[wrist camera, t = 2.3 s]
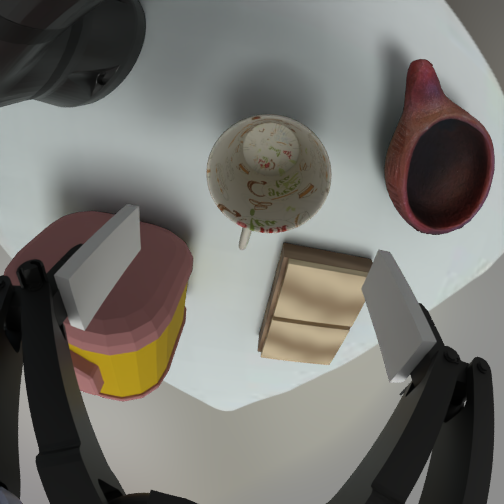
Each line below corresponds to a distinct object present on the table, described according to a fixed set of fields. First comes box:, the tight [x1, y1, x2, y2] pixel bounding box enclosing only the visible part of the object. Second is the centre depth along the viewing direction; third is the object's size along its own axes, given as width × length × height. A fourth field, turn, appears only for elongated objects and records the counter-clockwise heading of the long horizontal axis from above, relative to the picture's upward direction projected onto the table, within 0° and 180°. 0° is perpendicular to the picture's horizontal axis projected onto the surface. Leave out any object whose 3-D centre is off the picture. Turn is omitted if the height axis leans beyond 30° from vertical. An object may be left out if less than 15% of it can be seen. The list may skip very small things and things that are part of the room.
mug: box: [207, 114, 331, 250], centre depth 23 cm, size 8×13×10 cm, turn 166°
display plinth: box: [258, 243, 373, 365], centre depth 34 cm, size 16×11×4 cm
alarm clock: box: [4, 211, 193, 401], centre depth 26 cm, size 18×11×19 cm, turn 76°
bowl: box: [384, 59, 495, 235], centre depth 21 cm, size 16×13×8 cm
